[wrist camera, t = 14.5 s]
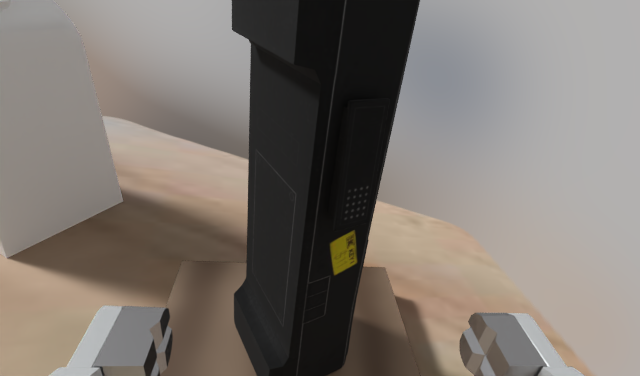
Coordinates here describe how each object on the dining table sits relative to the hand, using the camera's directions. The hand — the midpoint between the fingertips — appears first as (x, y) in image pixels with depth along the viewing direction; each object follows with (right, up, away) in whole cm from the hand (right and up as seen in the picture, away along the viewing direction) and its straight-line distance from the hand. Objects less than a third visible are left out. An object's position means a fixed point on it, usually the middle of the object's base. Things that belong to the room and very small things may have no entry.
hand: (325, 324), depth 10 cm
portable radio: (-2, -8, +16) cm, 18 cm away
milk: (-31, +1, +30) cm, 43 cm away
